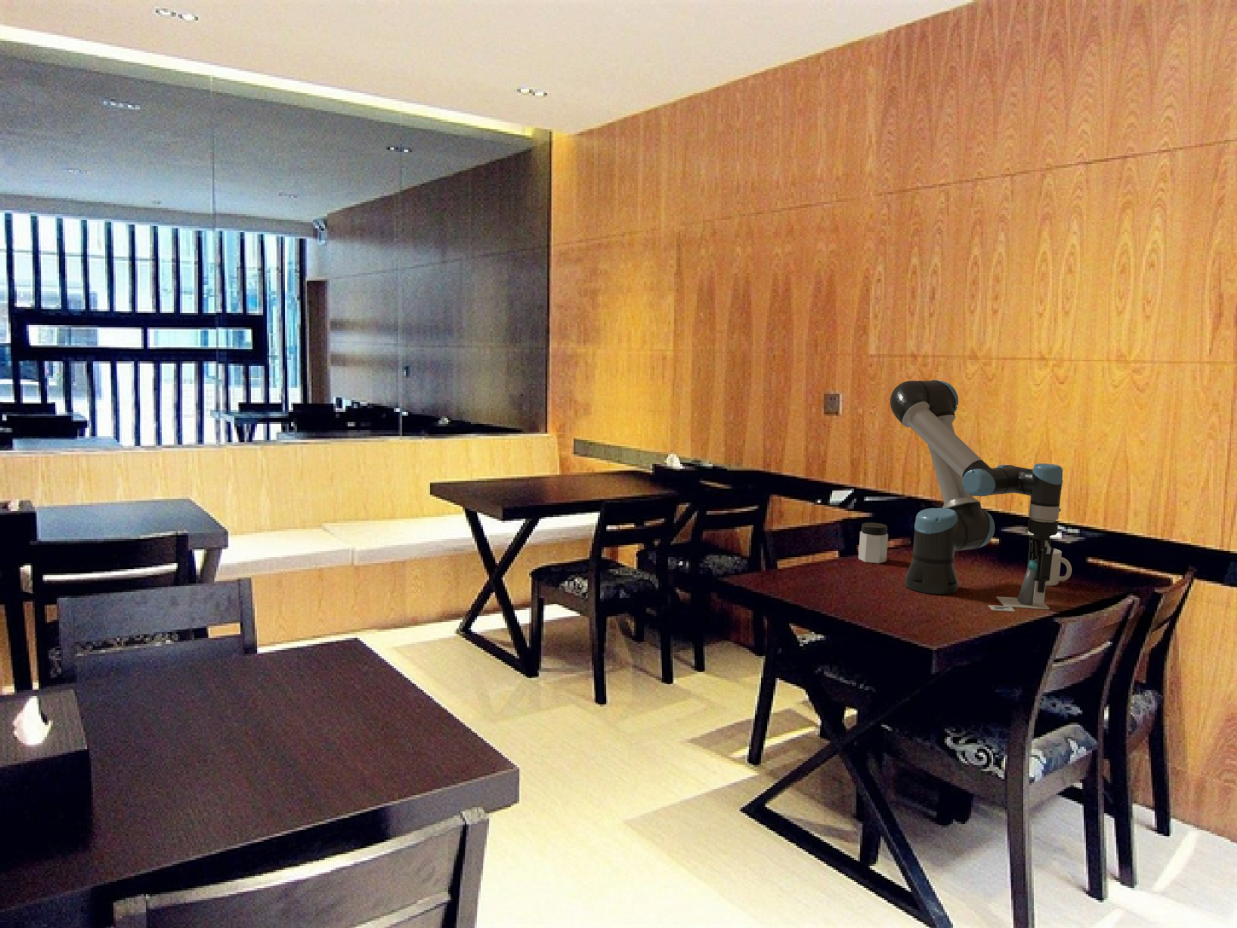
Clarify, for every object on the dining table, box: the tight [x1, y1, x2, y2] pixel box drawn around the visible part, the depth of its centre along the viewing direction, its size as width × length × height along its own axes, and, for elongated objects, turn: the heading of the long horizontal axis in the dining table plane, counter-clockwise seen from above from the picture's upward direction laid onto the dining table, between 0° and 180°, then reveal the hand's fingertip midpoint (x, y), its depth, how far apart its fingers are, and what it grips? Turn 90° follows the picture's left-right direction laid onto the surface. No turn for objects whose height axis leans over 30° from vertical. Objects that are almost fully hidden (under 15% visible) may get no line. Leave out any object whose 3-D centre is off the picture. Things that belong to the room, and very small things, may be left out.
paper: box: [995, 596, 1051, 610], centre depth 256 cm, size 12×9×1 cm
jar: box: [858, 522, 889, 564], centre depth 300 cm, size 9×8×12 cm
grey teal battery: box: [1017, 559, 1037, 605], centre depth 253 cm, size 4×4×13 cm
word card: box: [988, 604, 1016, 613], centre depth 250 cm, size 6×4×1 cm, turn 82°
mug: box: [1046, 548, 1073, 587], centre depth 277 cm, size 12×8×10 cm
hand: (1035, 600), depth 254 cm, fingers closed on grey teal battery, 4 cm apart
